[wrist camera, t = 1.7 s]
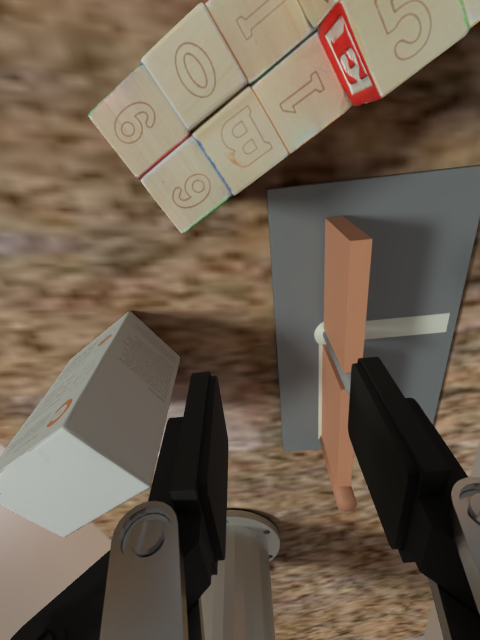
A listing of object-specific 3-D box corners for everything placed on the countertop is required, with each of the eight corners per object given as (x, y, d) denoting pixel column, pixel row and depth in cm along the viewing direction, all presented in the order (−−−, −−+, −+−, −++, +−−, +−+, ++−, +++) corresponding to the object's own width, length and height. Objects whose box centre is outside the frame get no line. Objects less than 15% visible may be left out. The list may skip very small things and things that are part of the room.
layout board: (426, 435, 36) (429, 440, 35) (283, 447, 36) (283, 452, 36) (485, 164, 23) (492, 164, 23) (266, 188, 24) (267, 190, 23)
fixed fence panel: (334, 442, 35) (356, 510, 29) (319, 444, 35) (337, 511, 29) (338, 342, 29) (366, 399, 23) (320, 344, 29) (342, 401, 23)
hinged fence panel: (336, 339, 29) (364, 396, 23) (322, 340, 29) (346, 397, 23) (341, 214, 24) (378, 243, 18) (324, 216, 24) (355, 246, 18)
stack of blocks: (198, 203, 24) (168, 257, 14) (138, 120, 22) (43, 105, 11) (504, -28, 19) (868, -250, 8) (470, -175, 16) (931, -788, 5)
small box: (122, 400, 33) (62, 541, 22) (69, 358, 31) (-31, 492, 19) (183, 357, 31) (152, 489, 19) (131, 308, 28) (60, 425, 17)
